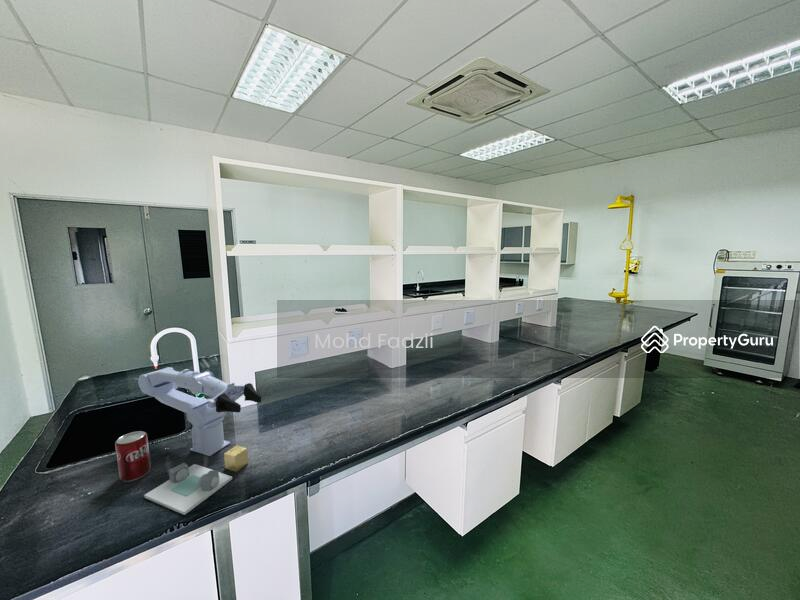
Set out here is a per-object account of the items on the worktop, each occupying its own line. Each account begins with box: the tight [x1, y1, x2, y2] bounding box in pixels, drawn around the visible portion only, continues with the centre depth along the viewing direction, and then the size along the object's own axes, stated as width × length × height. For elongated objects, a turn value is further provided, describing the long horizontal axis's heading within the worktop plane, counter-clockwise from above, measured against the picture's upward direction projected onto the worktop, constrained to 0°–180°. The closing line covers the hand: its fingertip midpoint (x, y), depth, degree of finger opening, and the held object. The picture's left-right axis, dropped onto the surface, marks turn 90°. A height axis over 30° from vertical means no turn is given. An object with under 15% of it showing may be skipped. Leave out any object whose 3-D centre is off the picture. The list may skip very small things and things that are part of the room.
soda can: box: [114, 430, 152, 483], centre depth 94 cm, size 7×7×12 cm
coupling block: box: [223, 444, 249, 473], centre depth 98 cm, size 4×4×5 cm
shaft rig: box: [143, 462, 233, 516], centre depth 89 cm, size 16×14×4 cm
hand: (250, 404), depth 98 cm, fingers open, 7 cm apart
